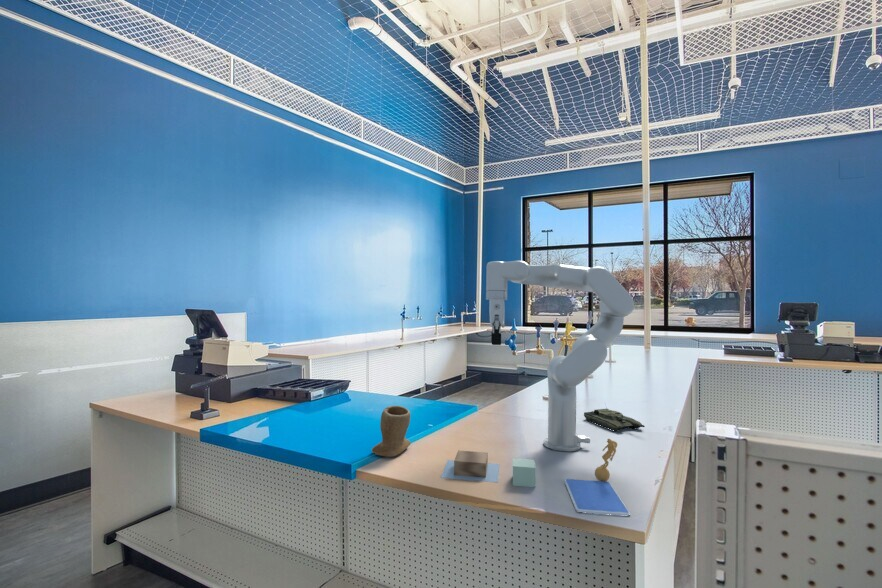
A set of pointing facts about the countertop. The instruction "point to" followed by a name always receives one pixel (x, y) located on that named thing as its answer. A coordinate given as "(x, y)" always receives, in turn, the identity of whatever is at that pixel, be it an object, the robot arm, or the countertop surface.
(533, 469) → the sage cube
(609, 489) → the tablet computer
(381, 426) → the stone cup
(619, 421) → the toy tank
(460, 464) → the walnut base block
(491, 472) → the light blue mat
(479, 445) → the countertop surface
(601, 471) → the figurine
